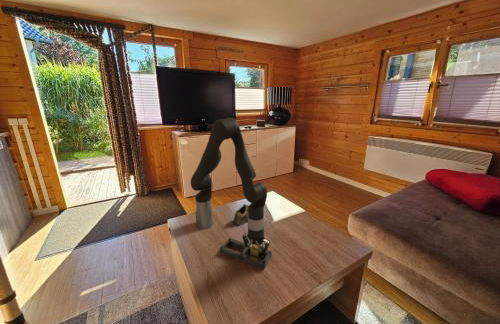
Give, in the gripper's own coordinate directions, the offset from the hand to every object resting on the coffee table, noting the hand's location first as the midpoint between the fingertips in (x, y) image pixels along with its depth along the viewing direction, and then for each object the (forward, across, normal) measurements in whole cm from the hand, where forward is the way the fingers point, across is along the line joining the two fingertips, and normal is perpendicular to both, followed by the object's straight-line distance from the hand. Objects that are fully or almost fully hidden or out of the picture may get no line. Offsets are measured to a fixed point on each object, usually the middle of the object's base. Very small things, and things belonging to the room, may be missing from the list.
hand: (256, 255), depth 103 cm
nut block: (+2, 0, 0) cm, 2 cm away
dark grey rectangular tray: (+2, -6, 0) cm, 6 cm away
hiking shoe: (+2, -20, +30) cm, 37 cm away
